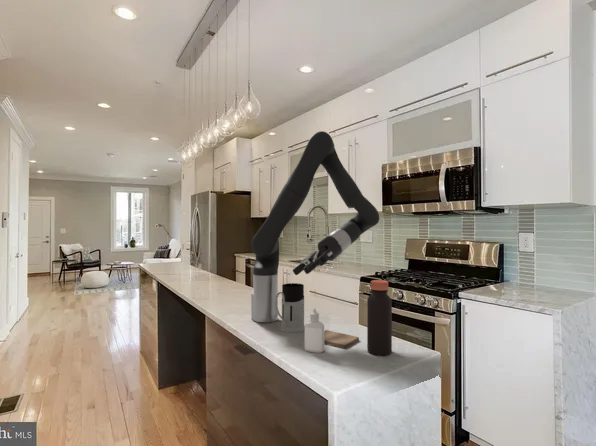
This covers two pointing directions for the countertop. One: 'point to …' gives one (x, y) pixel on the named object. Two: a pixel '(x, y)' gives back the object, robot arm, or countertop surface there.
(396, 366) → the countertop surface
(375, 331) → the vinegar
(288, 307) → the glass holder
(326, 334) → the walnut board
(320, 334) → the eye dropper bottle
